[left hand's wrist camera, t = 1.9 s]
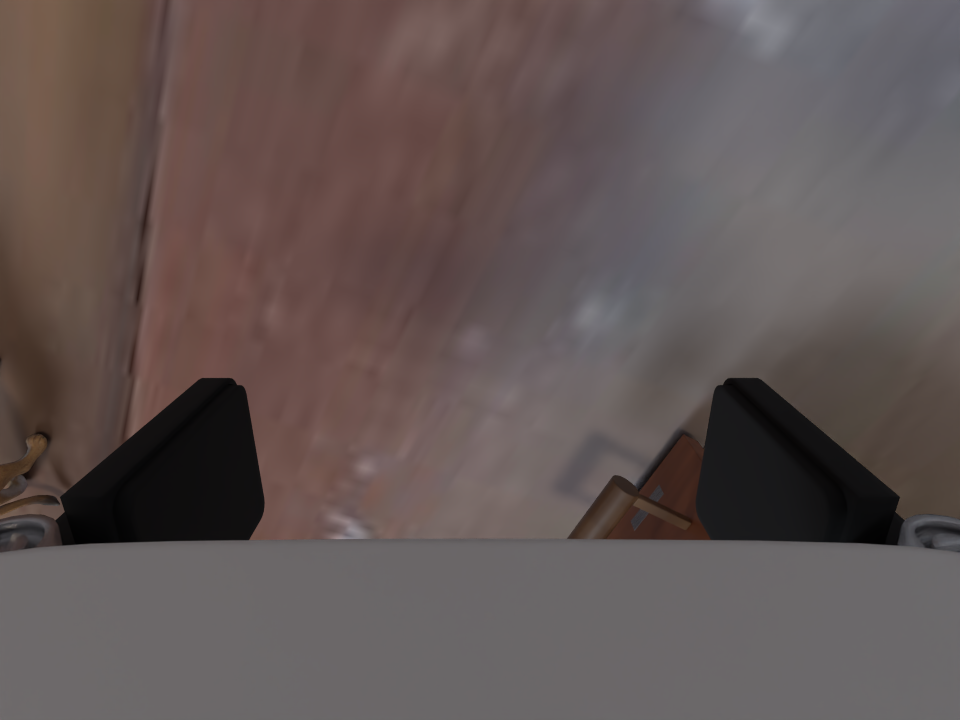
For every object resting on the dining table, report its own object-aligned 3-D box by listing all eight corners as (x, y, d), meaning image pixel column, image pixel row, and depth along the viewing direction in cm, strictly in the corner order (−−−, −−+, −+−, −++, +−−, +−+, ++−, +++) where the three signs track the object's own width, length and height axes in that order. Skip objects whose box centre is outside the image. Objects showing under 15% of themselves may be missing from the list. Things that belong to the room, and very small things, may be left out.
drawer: (533, 514, 39) (546, 609, 31) (614, 398, 35) (650, 471, 27) (816, 642, 43) (890, 755, 35) (911, 550, 39) (1016, 651, 32)
